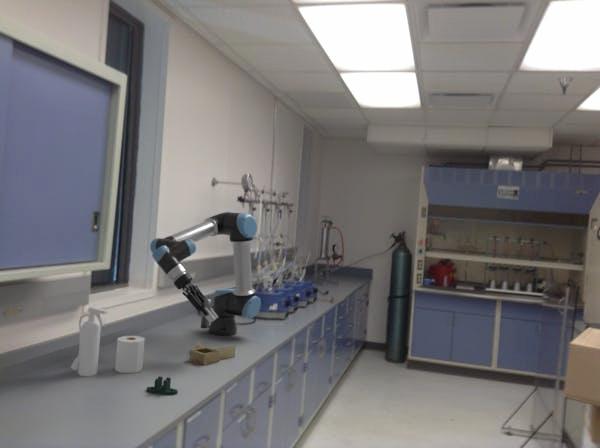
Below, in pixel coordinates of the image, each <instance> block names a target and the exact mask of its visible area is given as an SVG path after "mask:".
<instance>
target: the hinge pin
mask: <svg viewBox="0 0 600 448" xmlns="http://www.w3.org/2000/svg"><path fill="white" fill-rule="evenodd" d="M202 304H203V305H204V308H205V307H206V308H207V309H208V310H209V311H210V310H211V308H212V299H211V298H206V299H203V303H202ZM200 318H201V319H200V328H201V329H205V330H206V329H207V330H208V328H209V326H210V322H209V321H208V320H207V319H206V317H205V316H204V315H203V314H202V313H201V317H200Z"/></svg>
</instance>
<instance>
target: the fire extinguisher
mask: <svg viewBox="0 0 600 448" xmlns="http://www.w3.org/2000/svg"><path fill="white" fill-rule="evenodd" d="M107 314H109V310H106V309H103V308H100V307H96V306H89V307H88V310H87V313H84V314H82V315H80V317H79V320H78V327H79V328H78V329H79V343H78V344H79V348H78V351H79V352H78V355H77V357H75V359H74V361H73V362H72V363H71V366H70V367H71V369H72V370H74V371H78V375H79V376H81V377H92V376H96V375H97V374H98V368H99V367H98V365H99V357H100V356H99V354H100V353H99V352H100V343H101V342H100V341H101V330H102V329H101V328H102V327H103V326H105V325H106V322H105V318H104V317H103V315H107ZM85 317H88V319H87V321H84V322H83V321H82V320H83V318H85ZM96 318H97V319H96ZM97 320H98V321H97ZM82 322H83V324H82Z"/></svg>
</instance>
